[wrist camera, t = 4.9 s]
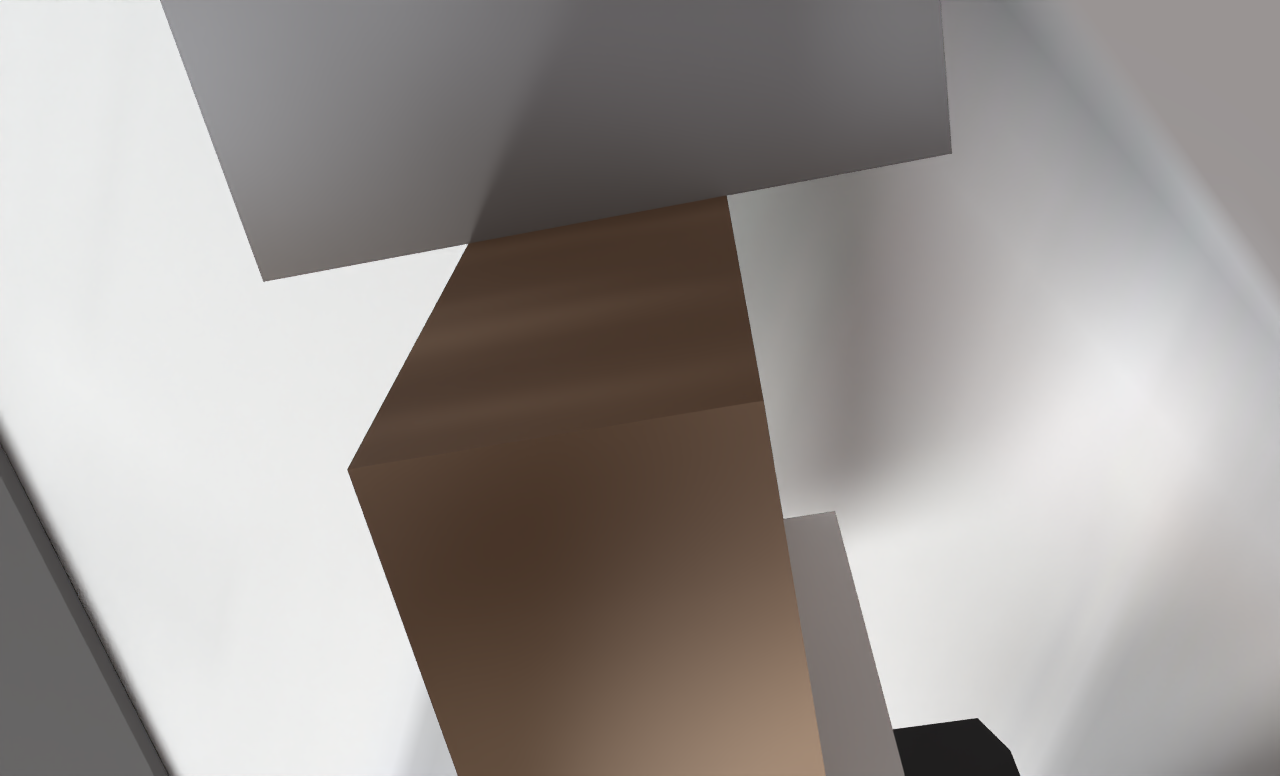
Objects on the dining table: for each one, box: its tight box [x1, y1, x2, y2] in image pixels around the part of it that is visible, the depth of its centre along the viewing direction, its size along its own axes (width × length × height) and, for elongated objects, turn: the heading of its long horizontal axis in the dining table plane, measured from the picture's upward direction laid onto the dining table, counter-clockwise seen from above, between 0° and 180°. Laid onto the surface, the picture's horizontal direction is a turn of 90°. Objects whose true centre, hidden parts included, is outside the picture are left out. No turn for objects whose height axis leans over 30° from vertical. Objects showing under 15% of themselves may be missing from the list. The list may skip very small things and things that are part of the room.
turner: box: [160, 0, 952, 776], centre depth 11 cm, size 24×8×6 cm, turn 11°
